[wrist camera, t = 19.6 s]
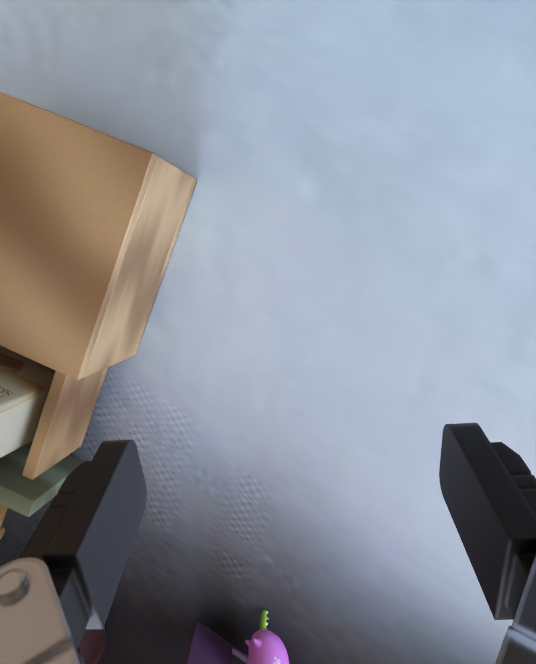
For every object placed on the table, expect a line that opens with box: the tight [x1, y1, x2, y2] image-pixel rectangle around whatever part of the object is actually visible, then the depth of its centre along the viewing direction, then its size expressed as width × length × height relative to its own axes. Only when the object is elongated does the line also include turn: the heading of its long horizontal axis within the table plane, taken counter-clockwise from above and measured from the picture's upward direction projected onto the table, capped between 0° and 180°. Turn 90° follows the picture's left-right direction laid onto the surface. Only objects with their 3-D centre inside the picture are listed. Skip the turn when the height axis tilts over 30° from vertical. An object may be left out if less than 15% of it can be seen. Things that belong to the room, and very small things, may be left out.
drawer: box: [0, 368, 108, 539], centre depth 33 cm, size 17×11×6 cm, turn 158°
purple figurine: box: [185, 610, 289, 664], centre depth 34 cm, size 7×5×9 cm
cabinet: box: [0, 92, 197, 380], centre depth 31 cm, size 13×12×8 cm
